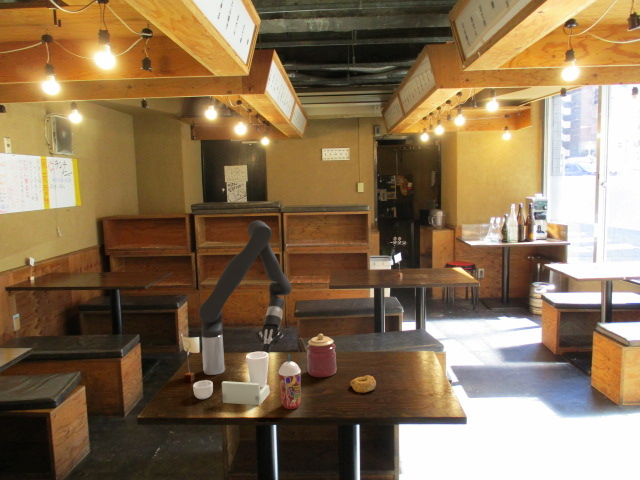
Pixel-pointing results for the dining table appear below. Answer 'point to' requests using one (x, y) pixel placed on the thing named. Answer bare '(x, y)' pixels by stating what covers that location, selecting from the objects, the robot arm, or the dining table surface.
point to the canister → (321, 356)
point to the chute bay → (244, 393)
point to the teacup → (203, 389)
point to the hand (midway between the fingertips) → (265, 353)
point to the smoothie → (290, 384)
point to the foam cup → (258, 367)
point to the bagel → (363, 384)
